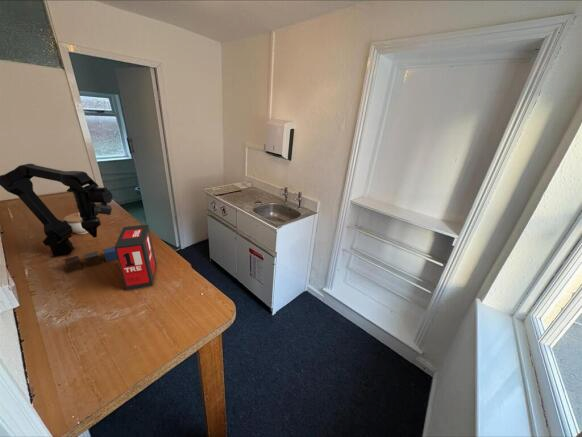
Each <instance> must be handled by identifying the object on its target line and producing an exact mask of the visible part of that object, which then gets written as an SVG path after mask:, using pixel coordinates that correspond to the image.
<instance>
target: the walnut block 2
mask: <svg viewBox="0 0 582 437" xmlns="http://www.w3.org/2000/svg"><path fill="white" fill-rule="evenodd" d="M84 260H85V262H86V265H87V267H92V266H93V267H94V266H97V265H99V264H101V259H100V256H99V253H98V251H97V250H95V251H91V252H86V253H84Z"/></svg>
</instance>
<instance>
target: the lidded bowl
mask: <svg viewBox="0 0 582 437" xmlns="http://www.w3.org/2000/svg"><path fill="white" fill-rule="evenodd" d="M81 220H82V218H81V217H80V213H79V211H78V212H74V213H70V214H68V215H66V216H64V217H63V221H67V222H68V224H69V225H70V226H71V227H72V230H73V232H72V233H75V234H77V235H85V234H89V233H88V232H87V231H86V230H85V229H83V228H82V226H81Z"/></svg>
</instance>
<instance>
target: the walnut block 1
mask: <svg viewBox="0 0 582 437" xmlns="http://www.w3.org/2000/svg"><path fill="white" fill-rule="evenodd" d="M64 265H65V268H66V271H67V273H72V272H74V271H78V270H82V269H83V266H82V262H81V258H80V257H79V255H75V256H70V257H67V258H64Z"/></svg>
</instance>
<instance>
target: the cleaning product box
mask: <svg viewBox="0 0 582 437" xmlns="http://www.w3.org/2000/svg"><path fill="white" fill-rule="evenodd" d="M116 240H117V241H116V242H115V245H114V246H113V247H114V248H115V252H116V255H117V258H118V259H117V261H118V262H117V263H118V265H119V268H120V272H121V276H122V279H123V282H124V286H125V289H126V291H131V290H136V289H142V288H146V287H152V286H153V285H154V278H155V273H156V265H157V260H156V255H155V251H154V246H153V240H152V237H151V231H150V227H149V224H141V225H130V226H123V227H122V230H121V232H120V234H119V236H118V238H117V239H116Z"/></svg>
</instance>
